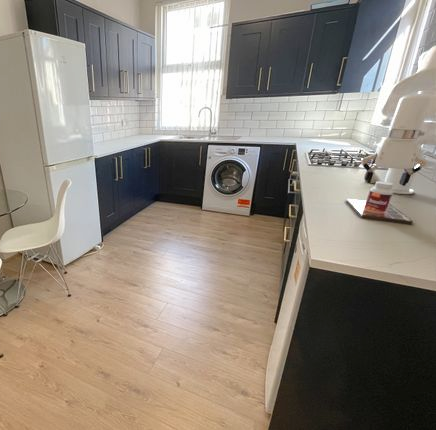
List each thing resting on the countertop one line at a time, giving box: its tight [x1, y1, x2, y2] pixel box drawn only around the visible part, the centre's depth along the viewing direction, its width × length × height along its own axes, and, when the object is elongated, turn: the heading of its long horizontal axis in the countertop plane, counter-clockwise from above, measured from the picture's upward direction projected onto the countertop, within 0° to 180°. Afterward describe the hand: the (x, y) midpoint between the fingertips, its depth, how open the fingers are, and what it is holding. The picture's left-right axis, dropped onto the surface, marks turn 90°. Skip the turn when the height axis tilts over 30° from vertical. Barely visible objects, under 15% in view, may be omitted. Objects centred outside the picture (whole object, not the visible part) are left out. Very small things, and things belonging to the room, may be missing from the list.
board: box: [346, 198, 414, 225], centre depth 107 cm, size 20×14×1 cm
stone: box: [363, 170, 382, 184], centre depth 145 cm, size 10×7×10 cm
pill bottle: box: [364, 180, 394, 214], centre depth 102 cm, size 6×6×11 cm
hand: (384, 183), depth 101 cm, fingers open, 9 cm apart
